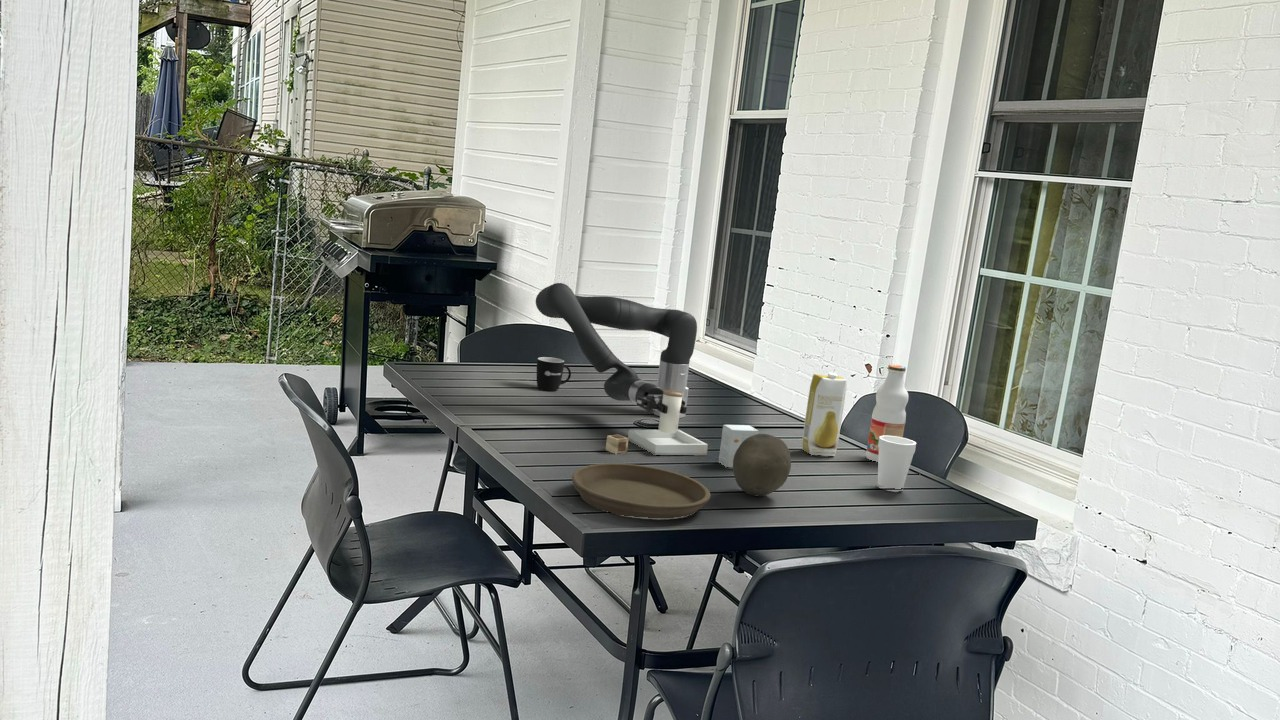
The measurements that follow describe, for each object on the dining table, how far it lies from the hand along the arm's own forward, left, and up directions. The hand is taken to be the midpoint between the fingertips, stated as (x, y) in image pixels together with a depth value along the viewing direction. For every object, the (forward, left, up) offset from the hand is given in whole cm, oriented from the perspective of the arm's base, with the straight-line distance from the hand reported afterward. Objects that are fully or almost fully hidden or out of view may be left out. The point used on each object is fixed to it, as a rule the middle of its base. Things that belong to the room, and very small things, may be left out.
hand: (675, 410), depth 275 cm
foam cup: (-44, +38, -11) cm, 60 cm away
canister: (0, -2, -6) cm, 7 cm away
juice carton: (-46, +5, -11) cm, 48 cm away
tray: (0, -3, -11) cm, 11 cm away
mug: (+4, -75, -11) cm, 76 cm away
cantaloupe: (-1, +40, -11) cm, 42 cm away
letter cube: (+17, 0, -11) cm, 20 cm away
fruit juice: (-63, +13, -11) cm, 66 cm away
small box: (-11, +15, -11) cm, 22 cm away
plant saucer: (+31, +40, -12) cm, 52 cm away
